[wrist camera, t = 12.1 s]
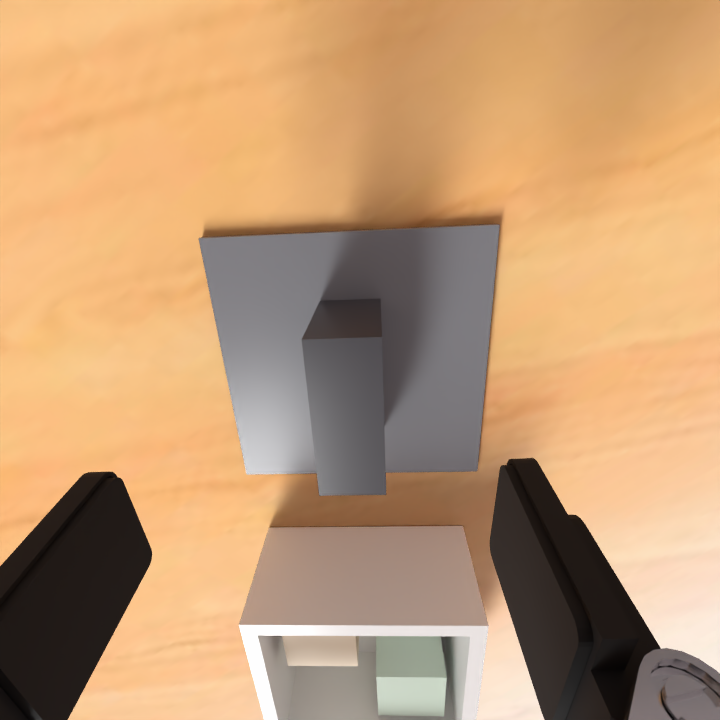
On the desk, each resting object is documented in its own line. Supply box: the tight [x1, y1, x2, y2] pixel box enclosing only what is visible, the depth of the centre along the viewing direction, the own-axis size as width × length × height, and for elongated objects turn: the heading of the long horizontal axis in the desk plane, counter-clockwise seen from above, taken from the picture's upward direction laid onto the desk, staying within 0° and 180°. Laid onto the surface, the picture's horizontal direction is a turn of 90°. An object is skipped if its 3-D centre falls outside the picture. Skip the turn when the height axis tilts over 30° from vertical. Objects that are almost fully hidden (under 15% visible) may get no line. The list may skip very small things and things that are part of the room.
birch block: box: [282, 636, 359, 666], centre depth 24 cm, size 4×4×4 cm
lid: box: [199, 224, 500, 496], centre depth 18 cm, size 13×13×6 cm
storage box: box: [239, 526, 488, 720], centre depth 24 cm, size 12×12×6 cm
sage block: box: [376, 636, 447, 716], centre depth 25 cm, size 4×4×4 cm
